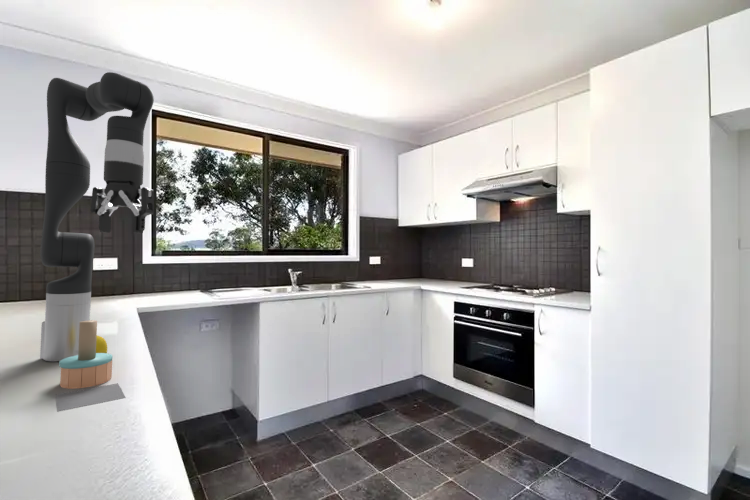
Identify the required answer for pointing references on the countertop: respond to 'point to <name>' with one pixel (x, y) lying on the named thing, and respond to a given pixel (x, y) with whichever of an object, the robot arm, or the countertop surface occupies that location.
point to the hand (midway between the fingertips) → (121, 232)
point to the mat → (88, 397)
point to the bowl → (85, 376)
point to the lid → (86, 349)
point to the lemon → (101, 345)
